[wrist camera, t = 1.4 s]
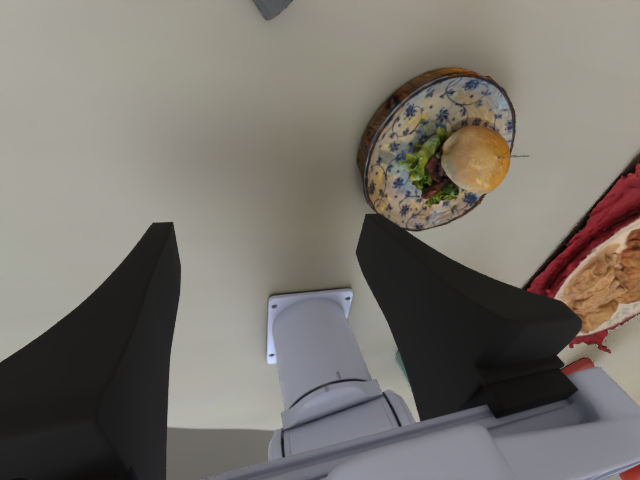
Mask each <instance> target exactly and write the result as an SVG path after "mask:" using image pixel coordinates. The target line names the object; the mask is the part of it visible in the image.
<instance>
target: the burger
mask: <svg viewBox="0 0 640 480" xmlns="http://www.w3.org/2000/svg"><path fill="white" fill-rule="evenodd" d="M515 116H516V115H515V110H514V108H513V105H512V103H511V101H510V99H509V97H508V95H507V93H506V91H505V90H504V89H503V88H502V87H501V86H499V85H498V84H497V83H496V82H495V81H494V80H493V79H492V78H491V77H490V76H482V75H478V74H477V73H475V72H472V71H468V70H465V69H461V68H453V69H441V70H437V71H433V72H429V73H426V74H424V75H422V76H420V77H418V78H416V79H414V80H412V81H410V82H409V83H407V84H406V85H405V86H403V87H402V88H400V89H399V90H398V91H396V92H395V93H394V94H393V95H392V96H391V97H390V98H389V99H388V100H387V101H386V102H385V103H384V104H383V105H382V106H381V108H380V109H379V111H378V112H377V113H376V115H375V116H374V118H373V119H372V121H371V122H370V124H369V126H368V128H367V130H366V132H365V134H364V136H363V139H362V140H363V141H362V145H361V149H360V150H359V153H358V158H357V164H358V166H359V170H360V173H361V175H362V181H363V188H364V194H365V198H366V201H367V203H368V204H369V205H370V207H371V208H372V209H373V210H374V211H375V212H376V214H381V215H383V216H385V217H386V218H388V219H389V220H391V221H392V222H394V223H395V224H397V225H398V226H400V227H401V228H403V229H404V230H408V231H422V230H426V229H430V228H434V227H438V226H442V225H446V224H448V223H450V222H451V221H453V220H455V219H458V218H461V217H463V216H464V215H466V214H467V213H469V212H470V211H471V210H473V209H474V208H475V207H476V206H478V205H479V204H481V201H482V200H483V198H484V196H485V195H486V194H487V193H489V192H490V191H492V190H494V189H495V188H496V187H497V186H498V185H499V184H500V183H501V182H502V180H503V179H504V177H505V175H506V174H507V171H508V168H509V164H510V157H528V156H517V155H514V156H510V155H511V151H512V148H513V145H514V144H513V142H514V138H515V132H516V130H515V123H516V119H515Z"/></svg>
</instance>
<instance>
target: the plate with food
mask: <svg viewBox="0 0 640 480" xmlns="http://www.w3.org/2000/svg"><path fill="white" fill-rule="evenodd" d="M635 170H636V172H634V173H629V174H628V175H627V177H626V176H621V178H620V179H619V180H618V181H617V183H616V184H615V185H614V186H613V188H612V189H611V191H610V192H609V193H608V194H607V195H606V196H605V197H604V198H603V200H602V201H600V202H599V203H598V204H597V205H596V208H593V210H592V212H591V213H590V214H589V215H588V216H590V218H589V220H587V224H586V225H585V227H583V229H581V230H579V233H577V234H575V235H574V237H573V238H572V239H571V240H570V241H569V242H568V243H567V244H566V246H568V247H567V248H566V249H565V250H564V251H563V252H562V253H560V254H559V255H558V256H557V257H556V258H555V259H554V260H553V261H552V262H551V263H550V264H549V265H548V266H547V268H546V269H545V271H544V272H542V273H541V274H540V275H539V276H537V277H536V278H535V279H534V280H533V282H532V283H531V285H530V286H531V287H530V288H527V291H529V292H532V293H536V294H539V295H543V296H546V297H550V298H553V299H557V300H560V301H562V302H564V303H565V304H566V305H567V306H568V307H569V308H570V309H571V310H573V311H574V312H575V313H576V314H577V315H578V316H579V317H580V318H581V319H582V328H581V330H580V332H579V333H578V334H577V336H576V337H575V338H574V339H573V340H572V341H571V342H570V343H569V346H570V348H573V345H572V344H580V343H582V342H584V343H586V344H588V345H590V344H591V345H592V344H597V345H599V346H598V349H600V350H602V351H605V352H608V353H611V351H610V350H609V349H607V347H606V346H602V345H601V344H602V341H603V339H604V338H605V337H606V336H607V334H608V331H607V330H609V329H611V330H612V329H615V328H616V327H617V326H618V325H619V324H620V325H622V324H624V323H625V322H626V321H629V319H631V318H633V317H635V316H636V315H638V314H640V163H638V164H637V165H636V166H635ZM605 341H606V340H605Z"/></svg>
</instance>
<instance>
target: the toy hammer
mask: <svg viewBox="0 0 640 480" xmlns="http://www.w3.org/2000/svg"><path fill="white" fill-rule="evenodd" d="M253 1H254V3H255V4H256V6H257V7H258V9H259V10H260V12H261V13H262V15H263V16H264V18H265V19H266V20H270V19H272V18H274V17H276V16H277V15H278V14H280V13H281V12H282V11H283V10H284V9H286V8H287V7H288V5H289V4H290V3H291V2H292V1H293V0H253Z"/></svg>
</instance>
